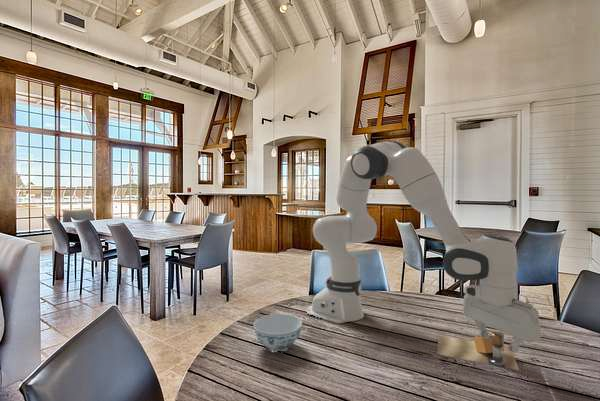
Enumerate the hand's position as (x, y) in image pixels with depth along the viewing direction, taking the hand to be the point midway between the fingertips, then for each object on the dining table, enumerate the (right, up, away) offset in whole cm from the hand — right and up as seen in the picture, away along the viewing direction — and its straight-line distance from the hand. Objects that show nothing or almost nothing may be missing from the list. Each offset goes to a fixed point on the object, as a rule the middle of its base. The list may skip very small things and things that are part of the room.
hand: (498, 344), depth 88 cm
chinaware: (-61, -7, +12) cm, 63 cm away
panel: (-3, -6, +7) cm, 10 cm away
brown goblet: (0, -5, 0) cm, 5 cm away
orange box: (+1, -4, +5) cm, 7 cm away
